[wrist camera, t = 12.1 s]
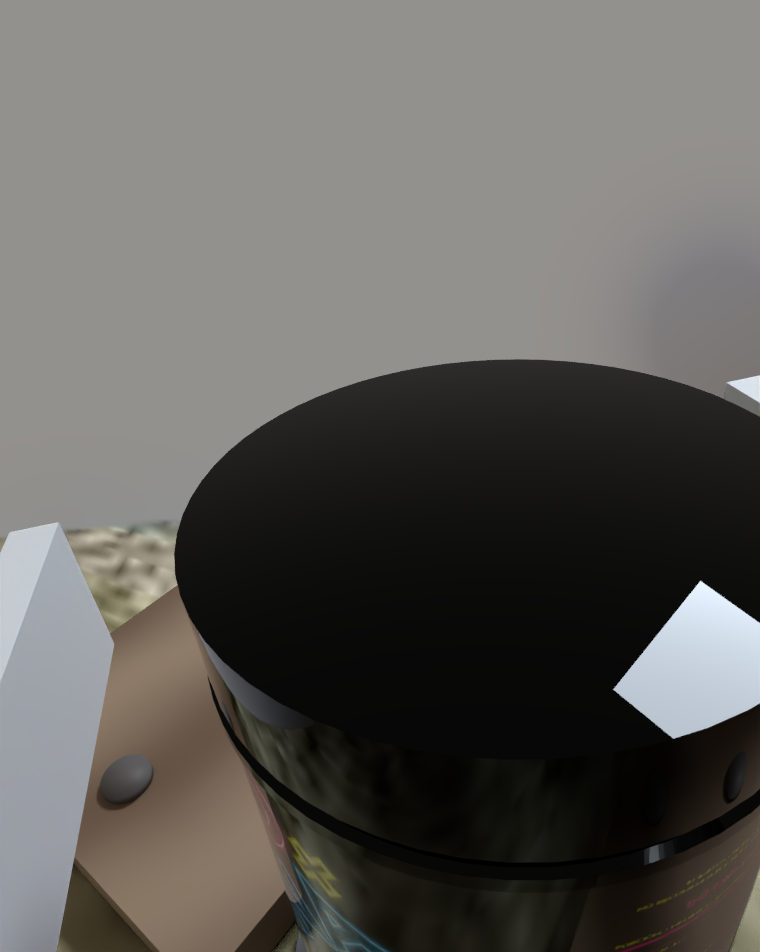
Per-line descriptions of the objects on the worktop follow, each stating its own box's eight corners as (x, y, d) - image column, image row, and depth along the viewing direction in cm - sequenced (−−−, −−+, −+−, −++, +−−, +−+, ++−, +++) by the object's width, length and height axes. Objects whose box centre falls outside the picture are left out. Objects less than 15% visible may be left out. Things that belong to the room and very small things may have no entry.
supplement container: (427, 740, 17) (383, 337, 11) (730, 873, 13) (874, 393, 8) (249, 1034, 12) (23, 588, 7) (646, 1347, 9) (858, 979, 3)
